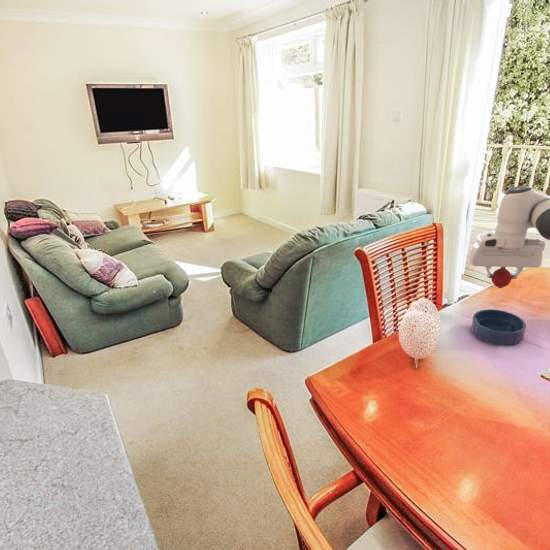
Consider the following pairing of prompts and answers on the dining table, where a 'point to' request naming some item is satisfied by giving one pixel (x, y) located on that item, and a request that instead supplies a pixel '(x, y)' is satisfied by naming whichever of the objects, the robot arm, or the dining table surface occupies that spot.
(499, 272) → the onion
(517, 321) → the bowl
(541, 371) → the dining table surface
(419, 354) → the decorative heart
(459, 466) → the dining table surface
